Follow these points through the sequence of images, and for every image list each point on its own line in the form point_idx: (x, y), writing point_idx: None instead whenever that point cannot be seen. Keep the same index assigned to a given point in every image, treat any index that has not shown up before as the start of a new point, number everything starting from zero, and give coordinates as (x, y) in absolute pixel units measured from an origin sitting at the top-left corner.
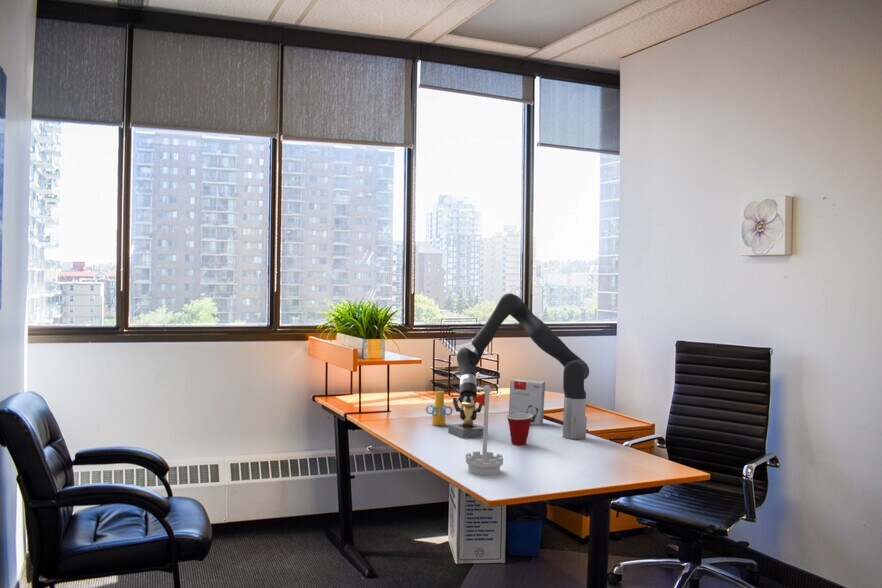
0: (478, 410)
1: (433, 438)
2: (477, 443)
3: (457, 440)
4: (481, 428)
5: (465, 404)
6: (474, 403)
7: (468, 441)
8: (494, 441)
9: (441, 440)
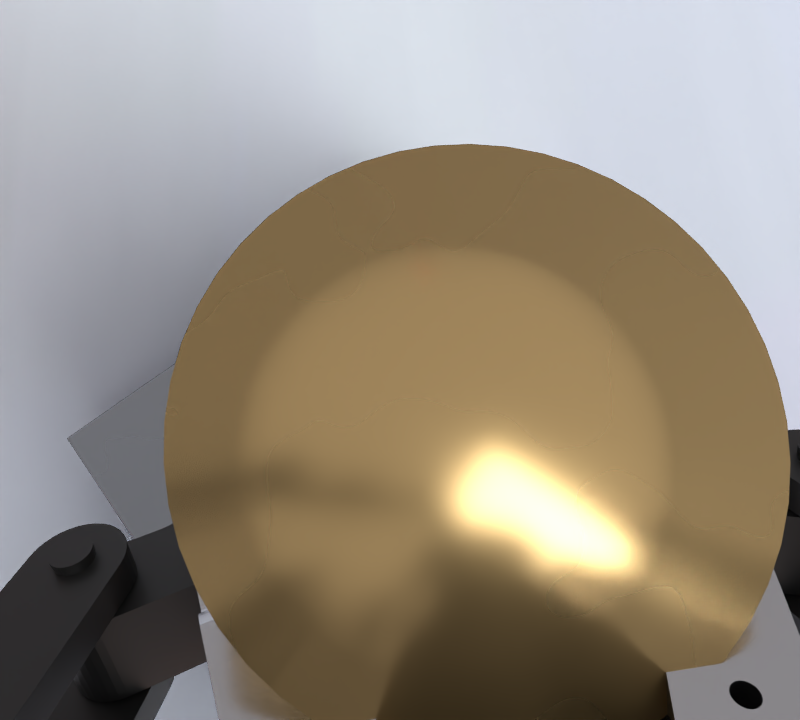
0: (132, 552)
1: (785, 132)
2: (248, 25)
3: (493, 107)
4: (170, 369)
5: (569, 184)
6: (209, 297)
7: (359, 91)
8: (34, 172)
9: (671, 61)
